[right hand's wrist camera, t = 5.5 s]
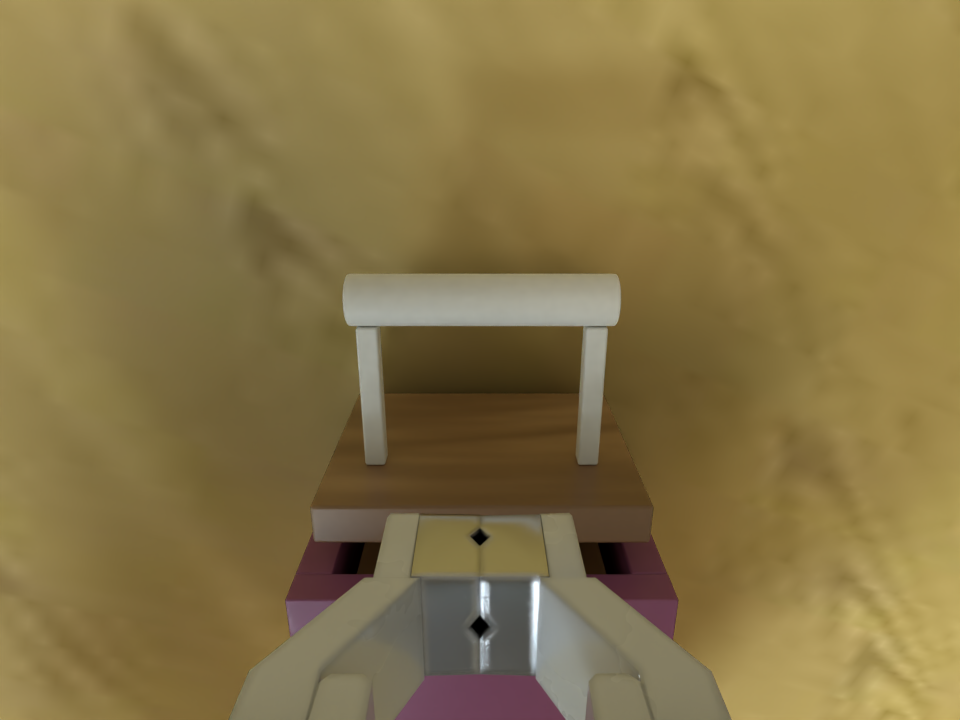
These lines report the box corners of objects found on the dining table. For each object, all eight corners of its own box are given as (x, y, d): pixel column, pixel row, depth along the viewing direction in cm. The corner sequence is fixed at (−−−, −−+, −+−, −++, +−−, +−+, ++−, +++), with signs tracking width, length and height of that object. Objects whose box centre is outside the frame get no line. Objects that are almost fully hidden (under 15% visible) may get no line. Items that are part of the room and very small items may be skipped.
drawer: (347, 239, 22) (285, 298, 15) (615, 239, 22) (679, 298, 15) (386, 756, 31) (358, 943, 24) (576, 756, 31) (604, 943, 24)
